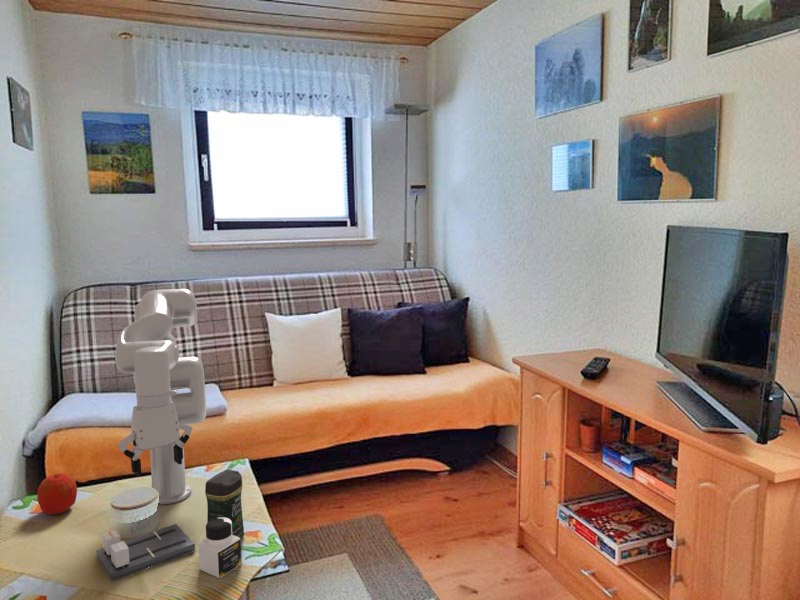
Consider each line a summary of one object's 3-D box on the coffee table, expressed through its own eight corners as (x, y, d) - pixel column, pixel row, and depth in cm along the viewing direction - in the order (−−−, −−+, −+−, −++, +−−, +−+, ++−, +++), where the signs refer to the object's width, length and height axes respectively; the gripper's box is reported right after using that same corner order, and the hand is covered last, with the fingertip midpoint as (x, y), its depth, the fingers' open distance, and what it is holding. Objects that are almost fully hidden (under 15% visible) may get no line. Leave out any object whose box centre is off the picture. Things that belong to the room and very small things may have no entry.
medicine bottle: (219, 579, 141) (217, 531, 139) (199, 570, 145) (196, 523, 143) (242, 564, 147) (240, 518, 145) (222, 555, 151) (220, 511, 149)
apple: (65, 520, 168) (62, 481, 167) (30, 519, 169) (26, 481, 167) (85, 502, 178) (82, 466, 177) (51, 502, 179) (48, 465, 177)
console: (96, 557, 150) (95, 549, 150) (176, 530, 163) (175, 523, 162) (111, 581, 140) (110, 573, 140) (195, 550, 153) (194, 543, 153)
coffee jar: (229, 554, 152) (225, 484, 149) (202, 548, 154) (198, 480, 151) (249, 534, 161) (247, 469, 158) (224, 530, 163) (221, 465, 160)
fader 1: (103, 548, 150) (102, 533, 149) (116, 544, 152) (115, 529, 151) (107, 555, 147) (106, 539, 146) (120, 550, 149) (119, 535, 148)
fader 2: (111, 560, 144) (110, 544, 144) (124, 556, 146) (123, 540, 146) (116, 568, 141) (115, 552, 141) (129, 563, 143) (128, 547, 143)
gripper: (183, 388, 150) (186, 454, 152) (110, 403, 138) (115, 474, 141) (196, 395, 144) (199, 463, 147) (121, 411, 133) (126, 484, 135)
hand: (158, 468), depth 144 cm, fingers open, 9 cm apart
